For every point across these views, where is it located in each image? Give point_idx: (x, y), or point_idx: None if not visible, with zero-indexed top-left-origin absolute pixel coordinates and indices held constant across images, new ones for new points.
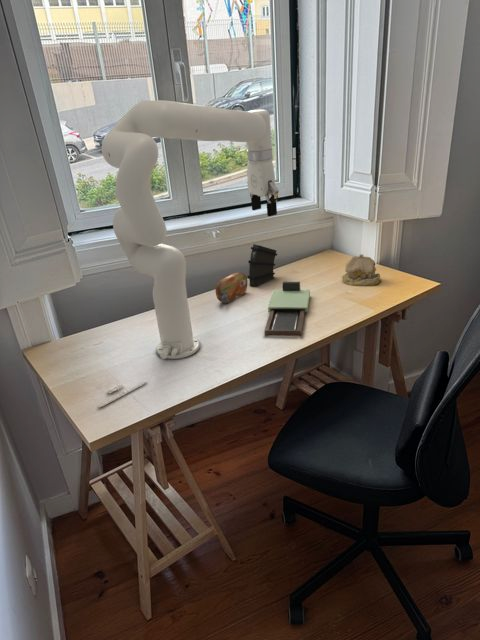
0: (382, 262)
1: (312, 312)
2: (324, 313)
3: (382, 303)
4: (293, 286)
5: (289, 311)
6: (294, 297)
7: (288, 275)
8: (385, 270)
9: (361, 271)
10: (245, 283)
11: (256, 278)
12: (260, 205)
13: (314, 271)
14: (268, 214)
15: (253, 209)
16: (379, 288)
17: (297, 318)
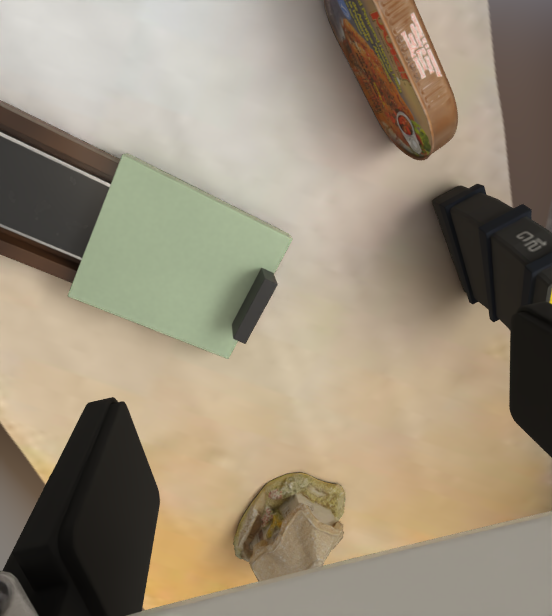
0: None
1: None
2: (86, 342)
3: None
4: (242, 311)
5: None
6: (179, 286)
7: (454, 345)
8: None
9: (271, 539)
10: (411, 147)
11: (444, 214)
12: (534, 434)
13: (433, 427)
14: (87, 417)
15: (516, 315)
16: (208, 533)
17: (32, 239)
